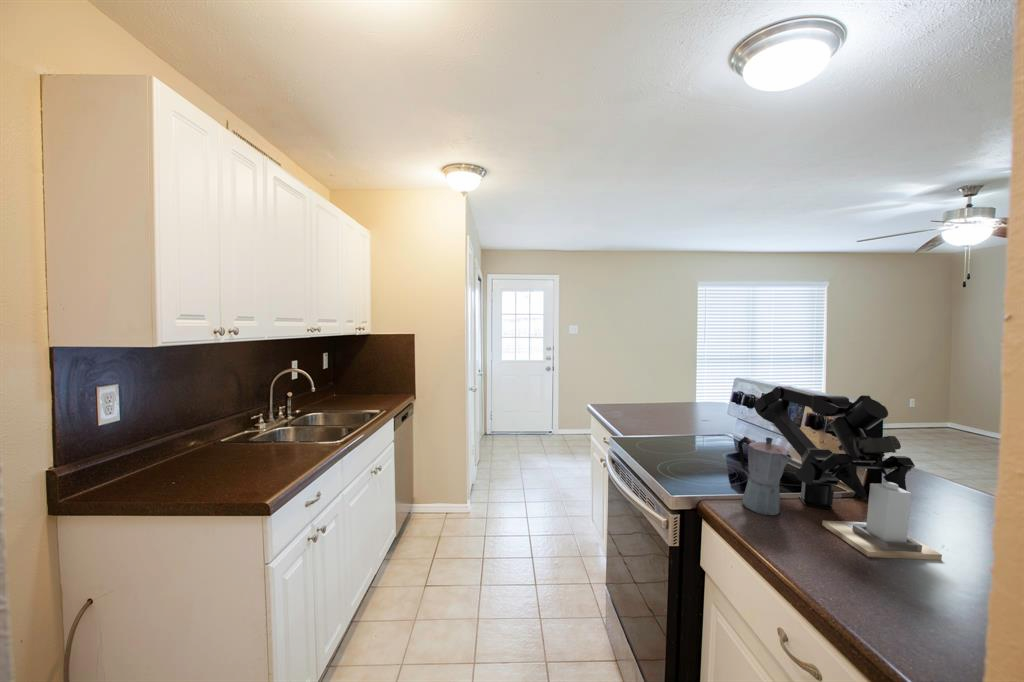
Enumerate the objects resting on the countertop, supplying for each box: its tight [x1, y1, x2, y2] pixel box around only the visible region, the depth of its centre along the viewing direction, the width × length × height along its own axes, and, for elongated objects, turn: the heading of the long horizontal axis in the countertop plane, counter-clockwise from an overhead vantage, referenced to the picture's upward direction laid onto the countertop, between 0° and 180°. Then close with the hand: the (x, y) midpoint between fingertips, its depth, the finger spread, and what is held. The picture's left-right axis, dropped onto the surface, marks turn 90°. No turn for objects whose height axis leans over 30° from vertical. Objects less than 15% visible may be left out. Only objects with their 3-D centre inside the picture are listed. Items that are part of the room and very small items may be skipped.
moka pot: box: [737, 436, 793, 516], centre depth 115 cm, size 10×15×20 cm, turn 27°
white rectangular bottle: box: [866, 481, 912, 543], centre depth 97 cm, size 5×5×14 cm
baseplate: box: [821, 520, 943, 561], centre depth 99 cm, size 14×16×3 cm
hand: (885, 499), depth 98 cm, fingers open, 9 cm apart
